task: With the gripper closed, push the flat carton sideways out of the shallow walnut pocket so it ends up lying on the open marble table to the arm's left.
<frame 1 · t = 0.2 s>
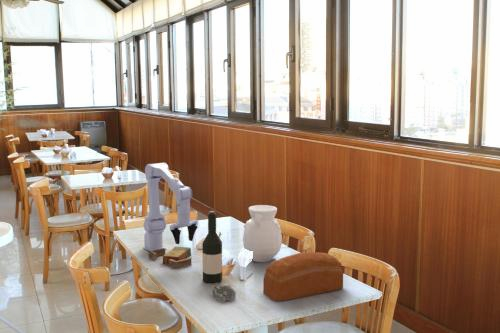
hand: (184, 242, 267), 10 cm above the table, tool pointing down, fingers open, 7 cm apart
frame: (178, 258, 274), on the table
carton: (177, 260, 274), resting in frame
grey rock: (223, 297, 227), on the table
bread: (303, 291, 234), on the table
wine bottle: (212, 281, 245), on the table
pitcher: (262, 259, 274), on the table
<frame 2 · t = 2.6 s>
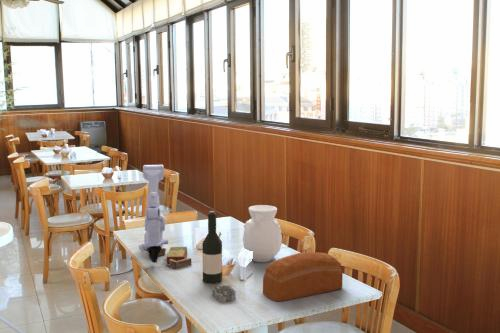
hand: (154, 261, 265), 1 cm above the table, tool pointing down, fingers closed
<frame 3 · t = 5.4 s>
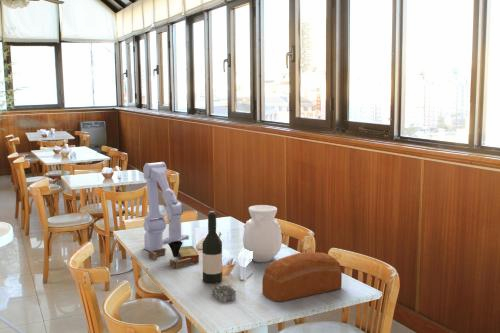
hand: (175, 256, 273), 1 cm above the table, tool pointing down, fingers closed
carton: (187, 259, 275), on the table, touching gripper
everything else where it was.
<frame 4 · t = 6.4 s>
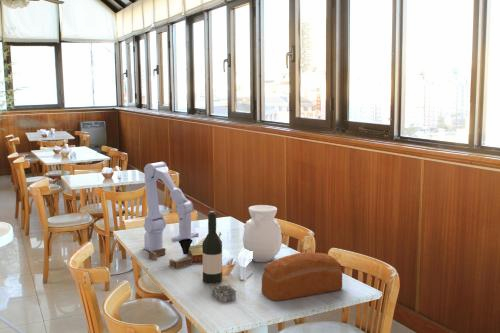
hand: (185, 254, 277), 1 cm above the table, tool pointing down, fingers closed
carton: (198, 258, 277), on the table
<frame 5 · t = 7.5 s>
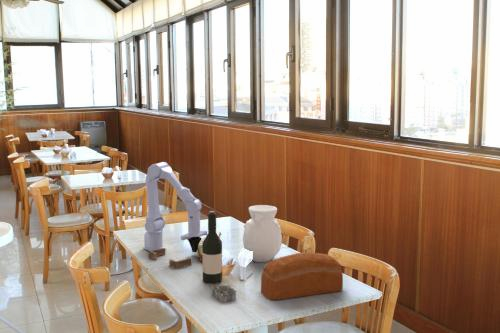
hand: (194, 251, 280), 1 cm above the table, tool pointing down, fingers closed
carton: (207, 257, 278), on the table, touching gripper
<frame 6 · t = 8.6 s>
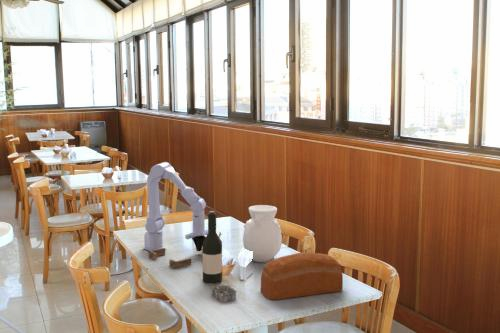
hand: (198, 250, 282), 1 cm above the table, tool pointing down, fingers closed
carton: (211, 257, 278), on the table
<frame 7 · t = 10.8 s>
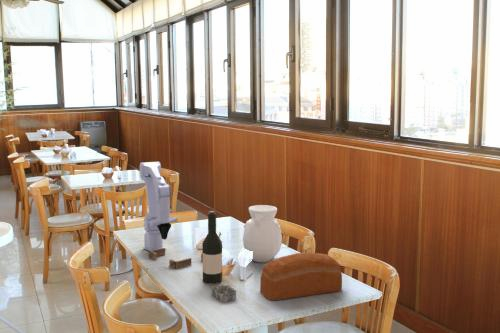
hand: (164, 238, 272), 10 cm above the table, tool pointing down, fingers closed
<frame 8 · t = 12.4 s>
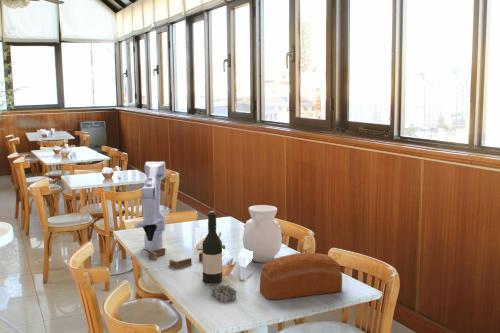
hand: (150, 240, 269), 10 cm above the table, tool pointing down, fingers closed
at the end: carton inside the target area (10.8 cm from its centre), on the table; carton touching table; carton tilted 2° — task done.
